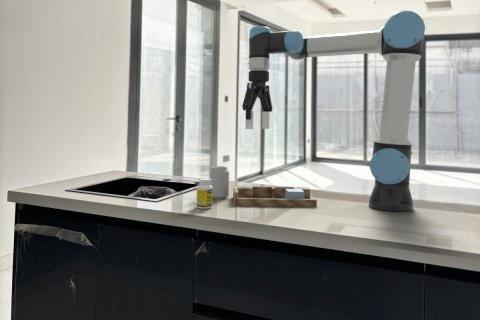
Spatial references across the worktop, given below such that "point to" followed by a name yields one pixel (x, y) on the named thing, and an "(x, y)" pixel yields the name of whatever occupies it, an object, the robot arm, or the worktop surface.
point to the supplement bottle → (204, 194)
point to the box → (270, 196)
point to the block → (294, 194)
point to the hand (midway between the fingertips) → (257, 129)
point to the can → (220, 182)
